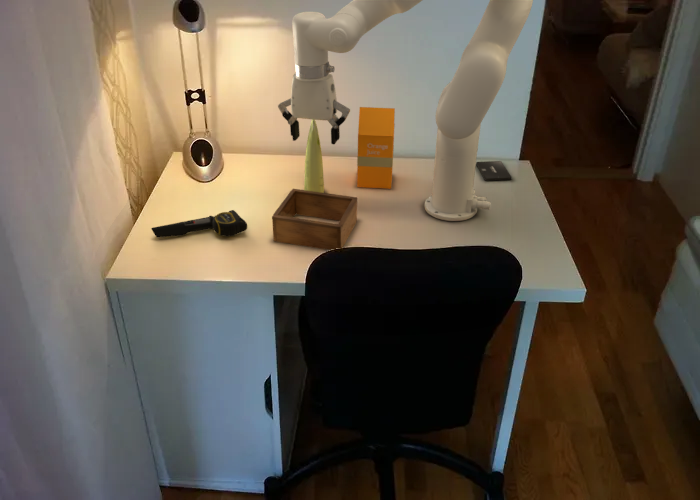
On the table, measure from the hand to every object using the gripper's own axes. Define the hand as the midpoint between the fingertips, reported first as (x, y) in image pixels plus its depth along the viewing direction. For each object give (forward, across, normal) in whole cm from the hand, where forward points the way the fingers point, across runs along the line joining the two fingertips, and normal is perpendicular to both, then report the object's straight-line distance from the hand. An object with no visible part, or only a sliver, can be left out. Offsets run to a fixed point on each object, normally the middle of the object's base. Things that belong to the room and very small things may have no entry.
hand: (315, 140), depth 166 cm
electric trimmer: (+14, +22, +26) cm, 37 cm away
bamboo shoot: (+15, +1, 0) cm, 15 cm away
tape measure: (+14, +14, +22) cm, 30 cm away
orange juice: (+15, -12, -11) cm, 22 cm away
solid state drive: (+16, -41, -25) cm, 50 cm away
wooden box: (+15, -5, +17) cm, 23 cm away
